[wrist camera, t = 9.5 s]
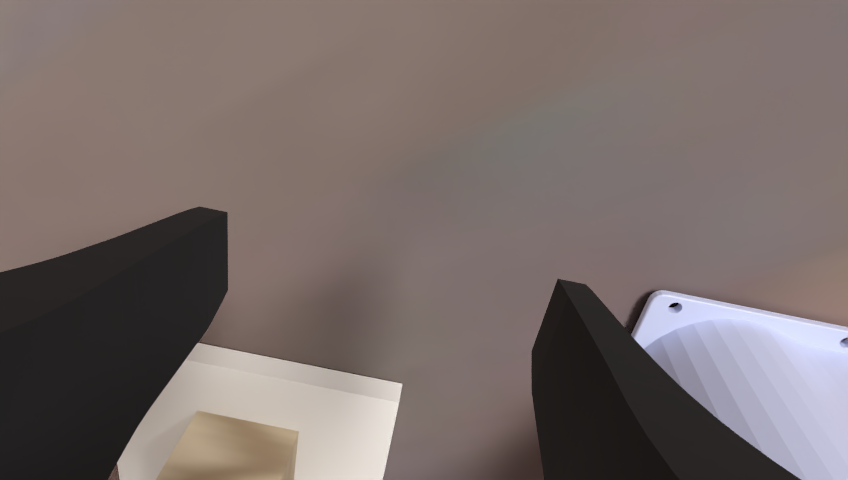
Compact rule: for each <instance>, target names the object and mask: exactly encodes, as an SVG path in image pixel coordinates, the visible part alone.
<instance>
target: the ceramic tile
mask: <svg viewBox="0 0 848 480" xmlns="http://www.w3.org/2000/svg"><path fill="white" fill-rule="evenodd" d="M401 389H402V384H401V383H396V382H391V381H386V380H381V379H376V378H371V377H366V376H361V375H356V374H351V373H346V372H341V371H336V370H331V369H326V368H321V367H316V366H311V365H306V364H301V363H296V362H291V361H286V360H281V359H276V358H271V357H266V356H261V355H256V354H251V353H246V352H241V351H236V350H231V349H226V348H221V347H216V346H211V345H206V344H201V343H197V344H196V346H195V347H194V348H193V350H192V351H191V353H190V354H189V355H188V357H187V358H186V360H185V361H184V362H183V364H182V365H181V366H180V368H179V369H178V370H177V372H176V373H175V375H174V376H173V377H172V379H171V380H170V381H169V383H168V384H167V386H166V387H165V388H164V390H163V391H162V392H161V394H160V395H159V397H158V398H157V399H156V401H155V402H154V403H153V405H152V406H151V407H150V409H149V410H148V412H147V413H146V415H145V417H144V418H143V420H142V421H141V423H140V424H139V426H138V427H137V429H136V431H135V432H134V434H133V436H132V437H131V439H130V441H129V443H128V444H127V446H126V448H125V450H124V451H123V453H122V455H121V457H120V458H119V460H118V462H117V465H118V471H119V477H120V480H156V479H157V477H158V475H159V474H160V472H161V470H162V469H163V467H164V465H165V464H166V462H167V460H168V459H169V457H170V455H171V454H172V452H173V450H174V449H175V447H176V445H177V444H178V442H179V441H180V439H181V437H182V436H183V434H184V432H185V431H186V429H187V427H188V426H189V424H190V422H191V421H192V419H193V417H194V416H195V414H196V412H197V411H202V412H207V413H212V414H217V415H222V416H227V417H232V418H236V419H241V420H246V421H251V422H256V423H261V424H266V425H270V426H275V427H280V428H285V429H290V430H295V431H299V434H298V444H297V454H296V464H295V474H294V480H383V475H384V471H385V466H386V461H387V457H388V452H389V447H390V443H391V438H392V433H393V429H394V424H395V419H396V414H397V410H398V405H399V400H400V395H401Z"/></svg>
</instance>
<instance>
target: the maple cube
mask: <svg viewBox="0 0 848 480" xmlns="http://www.w3.org/2000/svg"><path fill="white" fill-rule="evenodd" d="M298 434H299V431H295V430H290V429H285V428H280V427H275V426H270V425H266V424H261V423H256V422H251V421H246V420H241V419H236V418H232V417H227V416H222V415H217V414H212V413H207V412H202V411H197V412H196V414H195V416H194V417H193V419H192V421H191V422H190V424H189V426H188V427H187V429H186V431H185V432H184V434H183V436H182V437H181V439H180V441H179V442H178V444H177V445H176V447H175V449H174V450H173V452H172V454H171V455H170V457H169V459H168V460H167V462H166V464H165V465H164V467H163V469H162V470H161V472H160V474H159V475H158V477H157V479H156V480H294V474H295V464H296V454H297V444H298Z"/></svg>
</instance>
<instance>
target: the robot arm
mask: <svg viewBox="0 0 848 480" xmlns="http://www.w3.org/2000/svg"><path fill="white" fill-rule="evenodd" d="M227 291H228V235H227V212H223V211H218V210H213V209H208V208H203V207H197V208H193V209H190V210H187V211H184V212H181V213H178V214H175V215H173V216H170V217H167V218H165V219H162V220H160V221H157V222H155V223H152V224H149V225H147V226H144V227H142V228H139V229H136V230H134V231H131V232H129V233H126V234H123V235H121V236H118V237H115V238H113V239H110V240H107V241H104V242H101V243H98V244H95V245H92V246H89V247H86V248H83V249H80V250H78V251H75V252H72V253H69V254H66V255H63V256H59V257H56V258H53V259H49V260H46V261H42V262H39V263H35V264H32V265H28V266H24V267H20V268H16V269H12V270H8V271H4V272H0V480H108V478H109V476H110V474H111V472H112V470H113V469H114V467H115V465H116V463H117V462H118V460H119V458H120V457H121V455H122V453H123V451H124V450H125V448H126V446H127V444H128V443H129V441H130V439H131V437H132V436H133V434H134V432H135V431H136V429H137V427H138V426H139V424H140V423H141V421H142V420H143V418H144V417H145V415H146V413H147V412H148V410H149V409H150V407H151V406H152V405H153V403H154V402H155V401H156V399H157V398H158V397H159V395H160V394H161V392H162V391H163V390H164V388H165V387H166V386H167V384H168V383H169V381H170V380H171V379H172V377H173V376H174V375H175V373H176V372H177V370H178V369H179V368H180V366H181V365H182V364H183V362H184V361H185V360H186V358H187V357H188V355H189V354H190V353H191V351H192V350H193V348H194V347H195V346H196V344H197V343H198V341H199V340H200V339H201V337H202V336H203V334H204V333H205V332H206V330H207V329H208V327H209V325H210V324H211V322H212V320H213V318H214V316H215V314H216V312H217V311H218V309H219V307H220V305H221V303H222V301H223V299H224V297H225V295H226V293H227ZM672 303H679V304H678V305H677V306H675V307H669V306H670V305H671V304H672ZM847 337H848V327H844V326H839V325H834V324H829V323H824V322H819V321H814V320H809V319H804V318H799V317H794V316H789V315H785V314H780V313H775V312H770V311H765V310H760V309H755V308H750V307H745V306H740V305H735V304H730V303H725V302H720V301H715V300H710V299H705V298H700V297H695V296H690V295H685V294H680V293H675V292H670V291H665V290H660V291H656V292H654V293H652V294H651V295H650V297H649V298H648V300H647V302H646V304H645V306H644V308H643V311H642V313H641V315H640V317H639V319H638V321H637V323H636V325H635V328H634V330H633V332H632V334H631V335H630V334H629V332H628V331H627V330H626V329H625V328H624V327H623V326H622V324H621V323H620V322H619V321H618V320H617V319H616V318H615V316H614V315H613V314H612V313H611V312H610V311H609V309H608V308H607V307H606V306H605V305H604V304H603V303H602V301H601V300H600V299H599V298H598V297H597V296H596V295H595V293H594V292H593V291H592V290H591V289H590V288H589V287H588V286H587V285H585V284H581V283H576V282H571V281H566V280H561V279H558V280H557V283H556V285H555V288H554V291H553V294H552V297H551V299H550V302H549V305H548V308H547V310H546V313H545V316H544V319H543V322H542V324H541V327H540V330H539V333H538V335H537V338H536V341H535V344H534V347H533V349H532V396H533V404H534V411H535V418H536V425H537V432H538V439H539V446H540V452H541V459H542V466H543V473H544V479H545V480H848V338H847ZM844 338H847V339H845V340H843V341H841V340H842V339H844Z"/></svg>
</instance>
